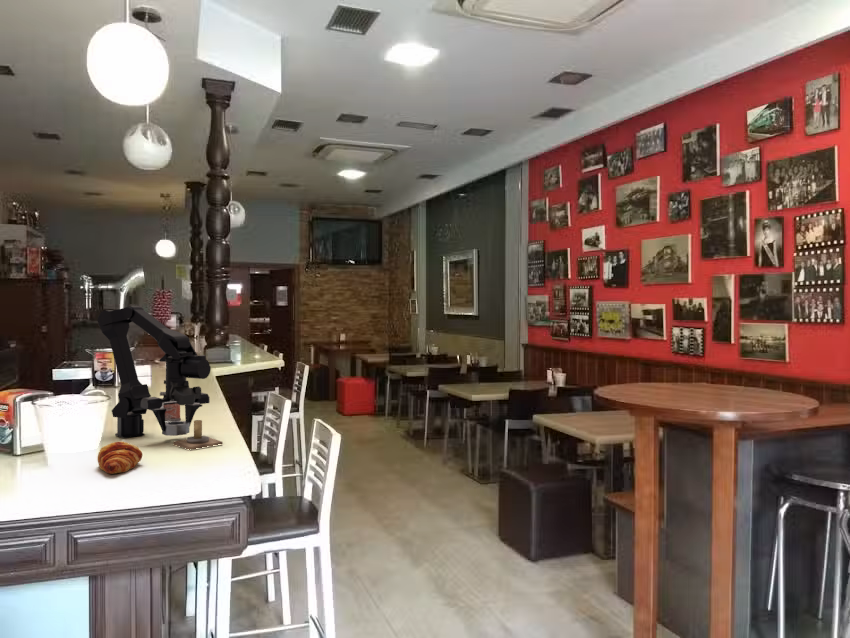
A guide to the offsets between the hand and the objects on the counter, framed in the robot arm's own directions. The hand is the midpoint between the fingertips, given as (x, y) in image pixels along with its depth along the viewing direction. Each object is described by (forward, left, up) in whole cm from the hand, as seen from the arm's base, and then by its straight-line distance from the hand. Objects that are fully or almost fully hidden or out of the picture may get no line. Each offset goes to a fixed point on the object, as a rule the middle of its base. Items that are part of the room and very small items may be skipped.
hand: (175, 429), depth 190 cm
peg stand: (+2, -10, -3) cm, 11 cm away
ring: (0, 0, -1) cm, 1 cm away
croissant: (-23, -20, -4) cm, 31 cm away
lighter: (+13, +33, -4) cm, 36 cm away
